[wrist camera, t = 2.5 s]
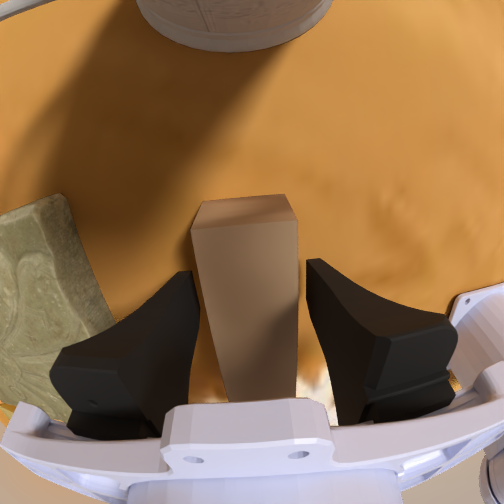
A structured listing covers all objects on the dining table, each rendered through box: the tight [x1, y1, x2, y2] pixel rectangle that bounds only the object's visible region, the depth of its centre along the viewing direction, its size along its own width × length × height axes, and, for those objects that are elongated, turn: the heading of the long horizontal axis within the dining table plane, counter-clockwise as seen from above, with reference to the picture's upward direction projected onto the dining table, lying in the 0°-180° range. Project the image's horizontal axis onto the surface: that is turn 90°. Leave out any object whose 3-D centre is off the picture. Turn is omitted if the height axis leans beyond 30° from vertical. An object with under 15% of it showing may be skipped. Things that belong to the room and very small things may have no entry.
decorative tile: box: [0, 193, 116, 423], centre depth 15 cm, size 19×20×4 cm
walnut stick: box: [190, 194, 298, 402], centre depth 14 cm, size 4×12×4 cm, turn 5°
